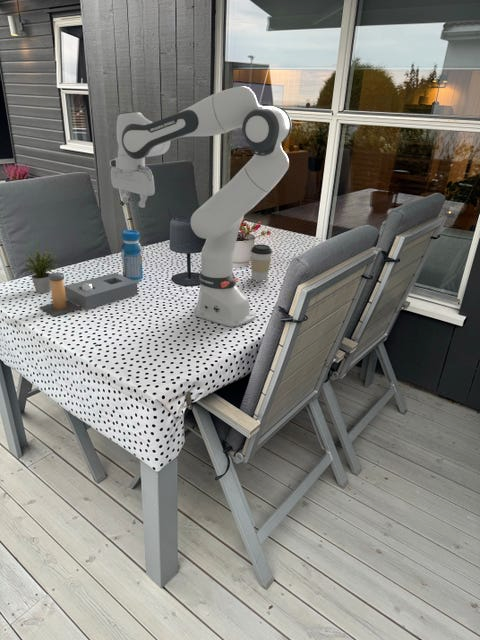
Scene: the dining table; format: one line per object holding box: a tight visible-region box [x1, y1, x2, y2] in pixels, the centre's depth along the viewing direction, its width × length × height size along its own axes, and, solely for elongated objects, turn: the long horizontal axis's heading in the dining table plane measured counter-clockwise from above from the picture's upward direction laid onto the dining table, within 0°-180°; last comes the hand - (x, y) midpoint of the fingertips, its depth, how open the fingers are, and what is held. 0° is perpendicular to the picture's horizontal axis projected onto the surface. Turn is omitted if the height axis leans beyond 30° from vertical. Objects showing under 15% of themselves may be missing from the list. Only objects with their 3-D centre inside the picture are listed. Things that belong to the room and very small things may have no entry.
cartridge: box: [49, 272, 67, 310], centre depth 155 cm, size 5×5×12 cm
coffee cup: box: [250, 244, 273, 282], centre depth 193 cm, size 9×9×15 cm
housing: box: [65, 272, 139, 311], centre depth 168 cm, size 22×14×5 cm, turn 139°
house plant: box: [22, 248, 61, 294], centre depth 167 cm, size 14×14×16 cm
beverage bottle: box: [120, 229, 144, 283], centre depth 184 cm, size 8×8×20 cm
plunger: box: [82, 283, 92, 291], centre depth 164 cm, size 4×4×6 cm
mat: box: [39, 299, 82, 318], centre depth 157 cm, size 10×10×1 cm
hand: (133, 204), depth 159 cm, fingers open, 8 cm apart
